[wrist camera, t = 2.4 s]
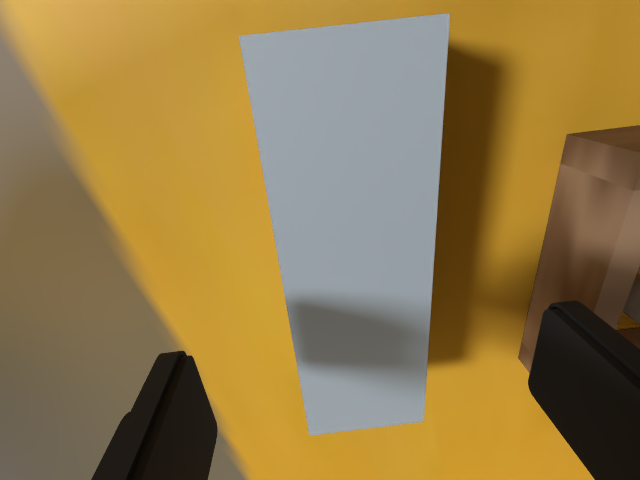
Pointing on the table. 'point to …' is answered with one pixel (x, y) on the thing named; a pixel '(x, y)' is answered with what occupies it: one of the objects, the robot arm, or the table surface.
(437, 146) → the grey rectangular block
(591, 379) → the robot arm
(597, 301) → the frame
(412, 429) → the table surface
